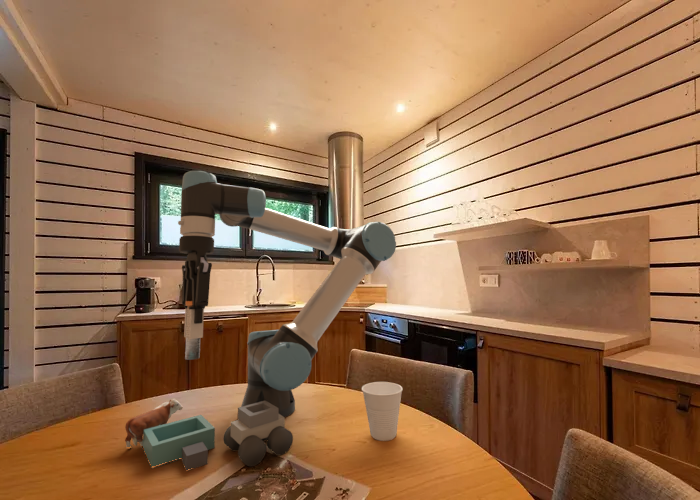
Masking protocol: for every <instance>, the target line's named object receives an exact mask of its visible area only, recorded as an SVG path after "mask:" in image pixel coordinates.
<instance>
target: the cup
mask: <svg viewBox="0 0 700 500" xmlns="http://www.w3.org/2000/svg"><path fill="white" fill-rule="evenodd" d="M361 391H362V393H363V400H364V405H365V411H366V416H367V422H368V427H369V432H370V436H371V437H372V438H373V439H374V440H376V441H379V442H380V441H381V442H388V441H391V440H394V438H395V437H396V436H397V433H398V425H399V423H398V422H399V415H400V407H401V398H402V392H403V391H404V390H403V386H401V385H400V384H398V383H394V382H391V381H390V382H388V381H374V382H369V383H366V384H363V385H362V386H361Z"/></svg>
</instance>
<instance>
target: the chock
mask: <svg viewBox="0 0 700 500" xmlns="http://www.w3.org/2000/svg"><path fill="white" fill-rule="evenodd" d="M208 453H209V450H208V449H207V448H206V446H205V445H204V443H203V442H200V443H196V444H193V445H190V446H186V447H183V448H182V459H181V463H182V462H183V463H182V465H183V464H184V465H183V467H184V466H185V467H184V469H185V468H186V469H185V471H186V470H188V469H191V468H194V469H197V468H199V467H202V466H203V467H204V466H206V465H208V462H209V461H208V460H209V459H208V457H209V456H208V455H209V454H208ZM196 467H197V468H196ZM191 470H192V469H191ZM188 471H189V470H188Z"/></svg>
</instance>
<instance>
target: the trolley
mask: <svg viewBox="0 0 700 500" xmlns="http://www.w3.org/2000/svg"><path fill="white" fill-rule="evenodd" d="M285 418H286V417H283V416H282V415H280V414H278V408H277V407H276V406H274V405H272V404H270V403H269V402H267V401H261V402H258V403H254V404H250V405H246V406H243V407H241V406H239V407H237V419H236V420H233V421H230V425H229V426H228V427H227V428H226V430H225V431H224V433H223V442H224V444H225V446H226V447H228V449H229V450H231V451H234V452H235V451H236V452H237V455H238V458H239V460H241V462H242V463H243V464H244V465H246V466H247V467H254V466H255V467H256V466H257V465H258V464H260V462H262V461H263V459H264V457H265V455H266V452H267V451H266V450H267V448H268V449H269V450H270V451H271V452H273V453H274V454H275V455H277V456H281V455H282V456H283V455H284V454H286V453H288V452H289V450H290V449H291V448H292V445H293V440H294V436H293V432H291V431H290V430H289V429H287V428H285V427H286V426H285V425H286V424H285V423H286V422H285V421H286V420H285ZM265 441H266V443H265Z"/></svg>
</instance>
